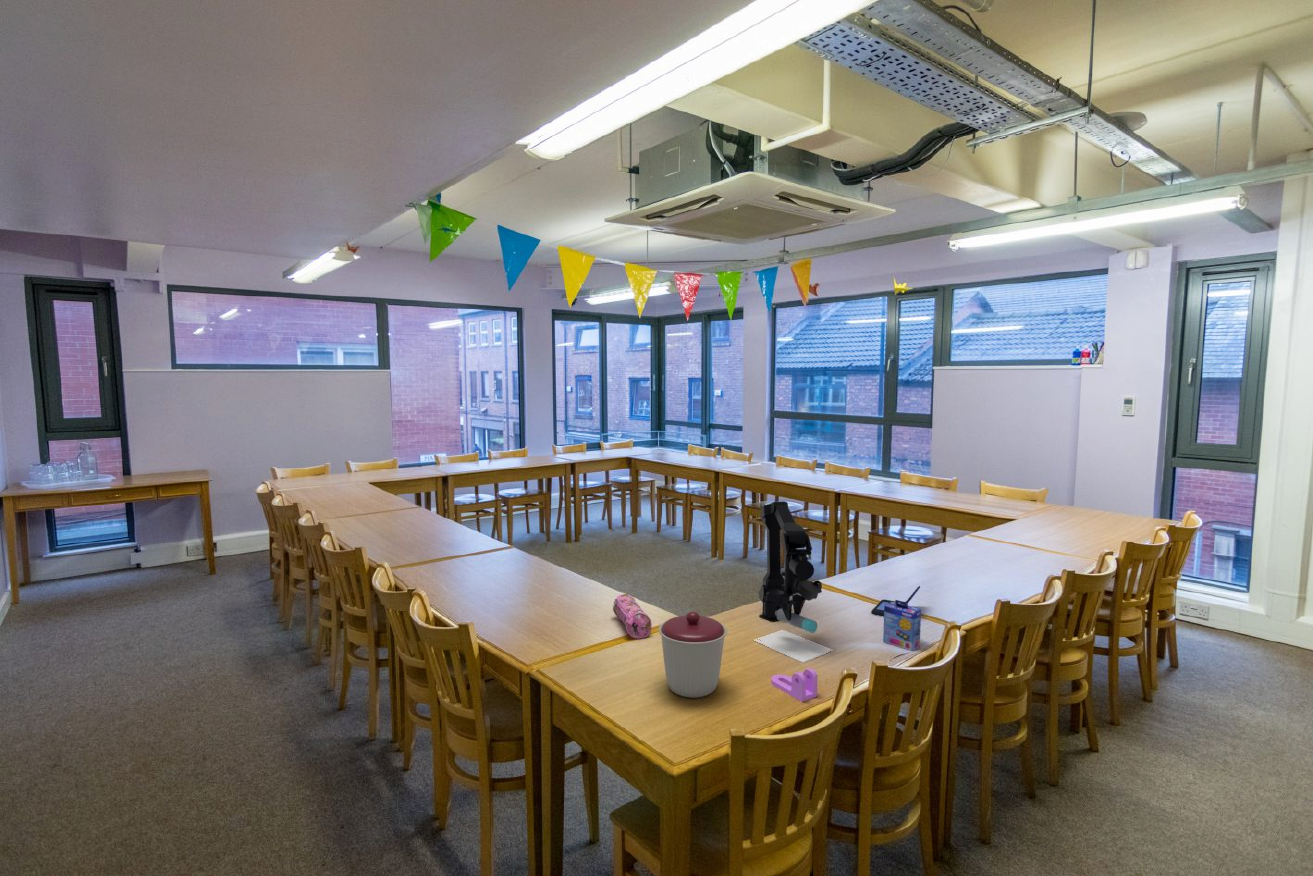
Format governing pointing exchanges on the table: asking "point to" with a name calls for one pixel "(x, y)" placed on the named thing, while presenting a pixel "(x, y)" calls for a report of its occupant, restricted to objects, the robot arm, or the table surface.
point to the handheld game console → (880, 606)
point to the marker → (797, 621)
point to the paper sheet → (793, 646)
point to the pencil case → (632, 616)
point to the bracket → (798, 684)
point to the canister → (692, 653)
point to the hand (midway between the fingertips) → (792, 619)
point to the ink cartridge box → (902, 625)
